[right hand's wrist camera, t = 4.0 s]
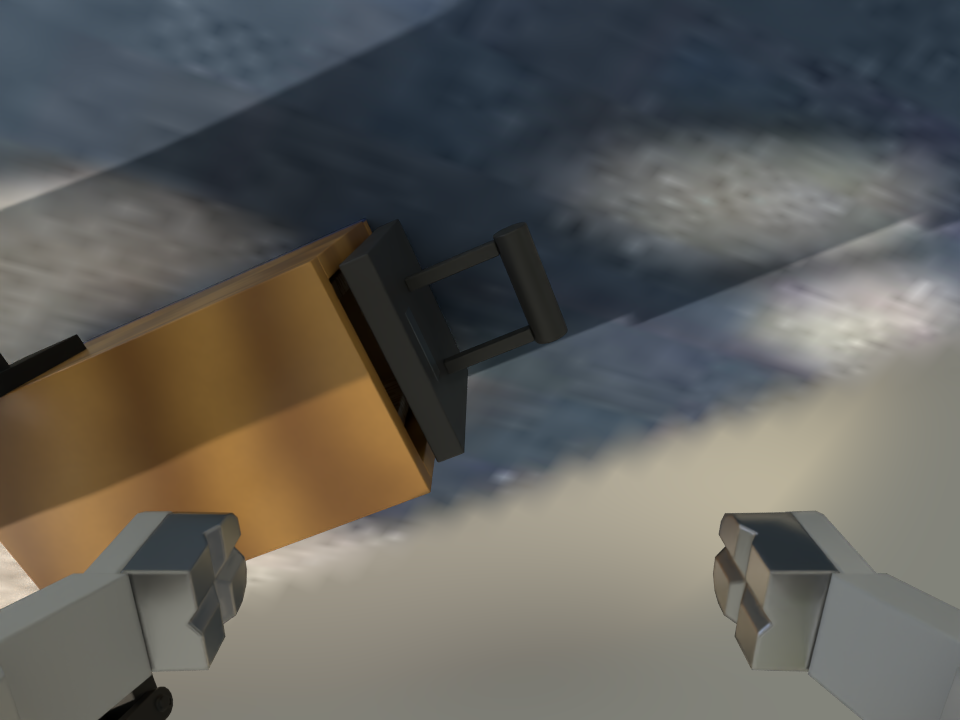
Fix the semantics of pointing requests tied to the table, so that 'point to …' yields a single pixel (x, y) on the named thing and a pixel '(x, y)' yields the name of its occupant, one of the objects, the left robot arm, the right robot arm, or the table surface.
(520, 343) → the drawer
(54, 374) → the cabinet
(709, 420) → the table surface
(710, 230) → the table surface
